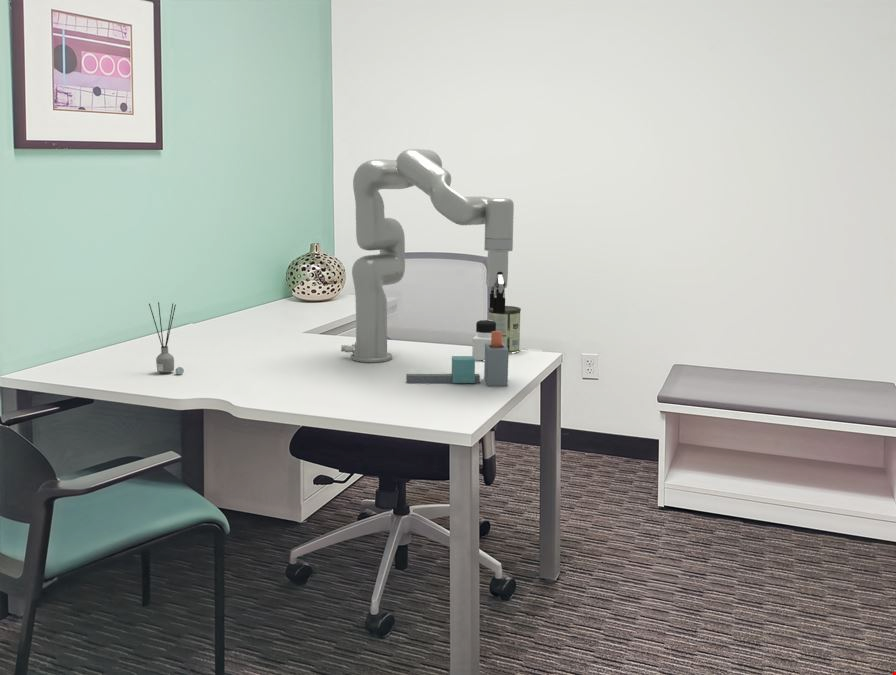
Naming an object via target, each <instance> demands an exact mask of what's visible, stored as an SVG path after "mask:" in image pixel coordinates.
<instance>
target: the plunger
mask: <svg viewBox="0 0 896 675" xmlns="http://www.w3.org/2000/svg"><path fill="white" fill-rule="evenodd" d="M491 348H502V332H501V331H492V332H491Z"/></svg>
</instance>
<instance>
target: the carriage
mask: <svg viewBox="0 0 896 675" xmlns="http://www.w3.org/2000/svg"><path fill="white" fill-rule="evenodd" d="M451 374H452V383H451V384H476V383H475V374H476V361H475V359H474V356H472V355H452V356H451Z"/></svg>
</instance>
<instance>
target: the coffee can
mask: <svg viewBox="0 0 896 675" xmlns="http://www.w3.org/2000/svg"><path fill="white" fill-rule="evenodd" d="M521 310H522V309H521V307H518V306H514V305H513V306H512V305H505V313H493V308H490V306H489V307H488V320H492V321H494V322H495V323H496V331H501V332H502V343H505V345H506V346H507V348H508V350H509V353H508V355H511V354H510V353H512V352H517V351H519V352H520V340H521V339H520V336H521V335H520V334H521V333H520V331H521V330H520V329H521V328H520V327H521Z"/></svg>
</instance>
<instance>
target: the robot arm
mask: <svg viewBox="0 0 896 675" xmlns="http://www.w3.org/2000/svg"><path fill="white" fill-rule="evenodd" d="M352 180H353V181H352V187H353V194H354V201H355V237H356V238H355V239H356V243H357V245H358V246H359V249H360V250H361V249H362V250H364V251H379V254H378V253H377V254H370V255H363V256H361V257H359V258H358V259H356V260H355V262H354V263H353V265H352V270H351V275H352V277H351V278H352V282H353V285H354V294H355V295H354V297H355V298H354V299H355V342H354V344H353V343H352V344H351V345H348V344H347V345H345V344H344V345H341V347H340V348H341V350H340V351H341V352H344V353H351V354H350V359H351V358H352V359H353V360H352V359H351V360H352V361H355V360H356V361H355V362H359V361H360V363H384V362H388V361H390V360H392V359H393V354H392V353H391V352H389V351H388V300H387V295H386V292H385V290H384V289H383V286H389V285H395V284H397V283H399V282H400V281H401V280H402V279H403V277H404V276H405V271H406V243H405V242H406V241H405V232H404V228H403V226H402V225H401V223H400V222H399V221H398V220H397V219H395V218H391V217H385V204H384V200H383V197H382V195H381V193H380V192H379V191H380V190H402V189H403V190H404V189H408V188H411V187H414V186H415V187H416V188H418V189H420V190H421V191H422V192H423V193H425V194H426V195H427V196H428V197H429V199H430V201H431V204H432V205H433V207H434V209H435V210H436V211H437V212H438V213H439V214H441V215H442V216H443V217H444V218H446V219H447V220H449V221H450V222H452V223H454V224H457V225H459V226H475V225H476V226H477V225H479V226H480V225H484V249H483V250H484V251H486V252H487V256H486V259H487V260H486V277H485V278H486V279H485V281H486V282H485V284H486V286H487V287H488V288H489V289H490V293H489V307H490V308H493V313H505V306H506V291H505V289H506V288H507V287H508V279H509V278H508V277H509V276H508V275H509V252H513V249H514V248H513V247H514V209H515V207H514V206H515V205H514V201H513V200H512V199H511V198H503V197H495V198H494V197H492V198H491V197H487V196H463V195H461V194H459V193H458V192H457V191H455V190H454V189H452V188H451V183H452V176H451V172H449V171H448V170H447V169H446V168H444V167H443V162H442V159H441V157H440V156H439V154H437V152H435V151H433V150H431V149H419V148H409V149H406V150H403V151H401V152H400V154H398V156H397V158H396V160H395V159H372V160H367V161H365V162H363V163H361V164H360V165H359V166H358V167H357V169H356V170H355V172H354V176H353V179H352Z"/></svg>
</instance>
